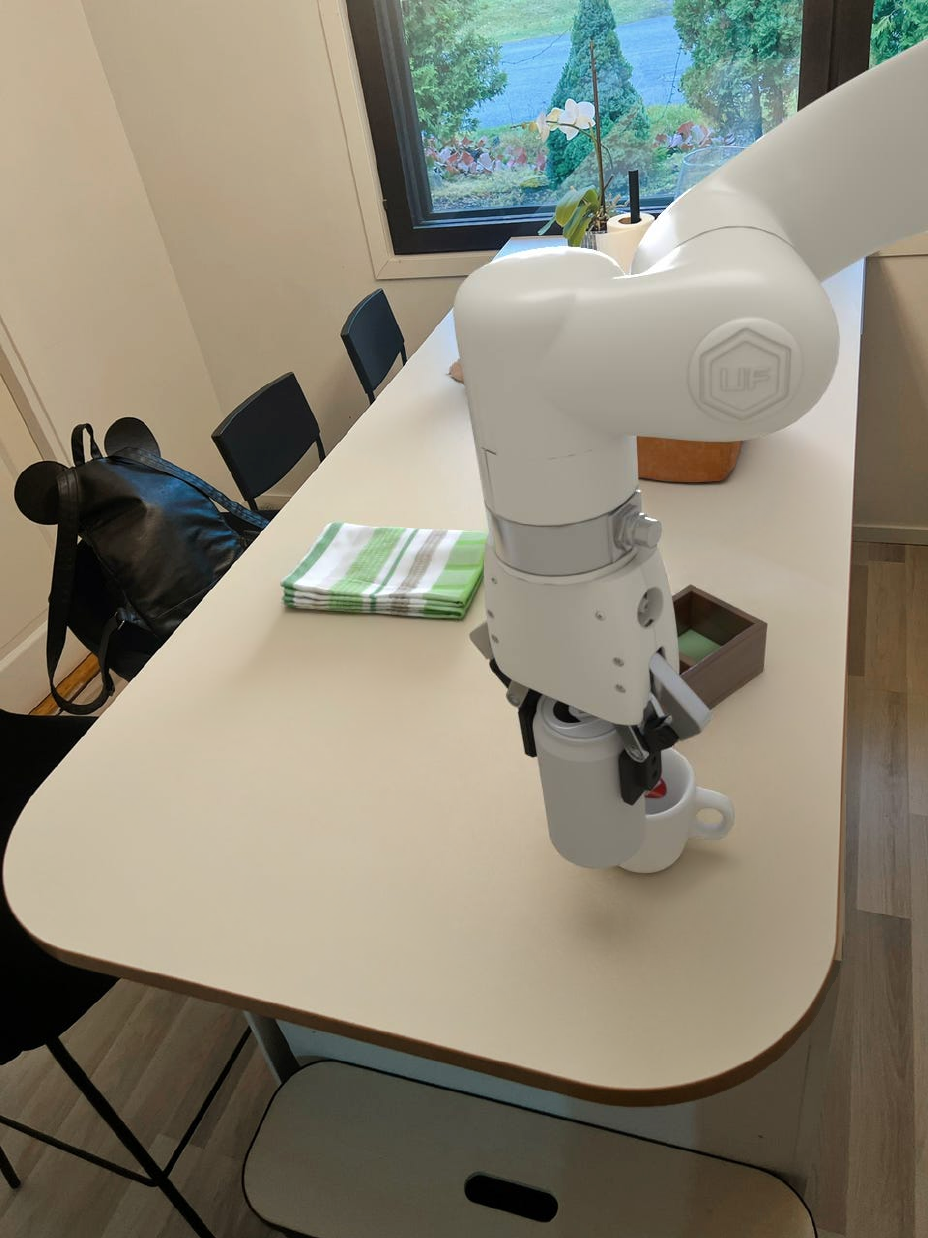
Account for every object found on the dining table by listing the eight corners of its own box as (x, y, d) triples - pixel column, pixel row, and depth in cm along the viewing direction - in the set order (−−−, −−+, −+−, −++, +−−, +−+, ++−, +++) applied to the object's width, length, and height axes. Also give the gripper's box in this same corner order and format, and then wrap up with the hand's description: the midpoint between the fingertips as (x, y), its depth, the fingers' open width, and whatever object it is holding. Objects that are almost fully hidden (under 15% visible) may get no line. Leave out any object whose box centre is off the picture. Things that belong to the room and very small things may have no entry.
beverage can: (548, 802, 61) (528, 674, 54) (641, 795, 60) (633, 664, 53) (552, 879, 56) (530, 749, 49) (653, 872, 55) (646, 739, 48)
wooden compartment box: (763, 670, 83) (767, 623, 80) (631, 766, 76) (630, 719, 73) (689, 629, 90) (690, 583, 86) (561, 714, 83) (556, 668, 79)
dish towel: (334, 533, 115) (328, 510, 113) (502, 538, 109) (499, 513, 106) (279, 612, 103) (271, 588, 100) (466, 623, 96) (461, 597, 94)
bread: (759, 399, 129) (766, 291, 119) (731, 487, 110) (737, 368, 101) (665, 396, 134) (665, 293, 124) (624, 480, 115) (619, 366, 106)
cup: (733, 816, 70) (738, 747, 66) (729, 900, 65) (734, 831, 60) (600, 800, 74) (595, 733, 69) (584, 879, 68) (578, 812, 63)
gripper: (763, 521, 40) (750, 782, 51) (478, 453, 51) (517, 682, 61) (682, 609, 36) (686, 872, 47) (389, 515, 46) (447, 749, 57)
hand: (590, 763), depth 54 cm, fingers closed on beverage can, 6 cm apart
